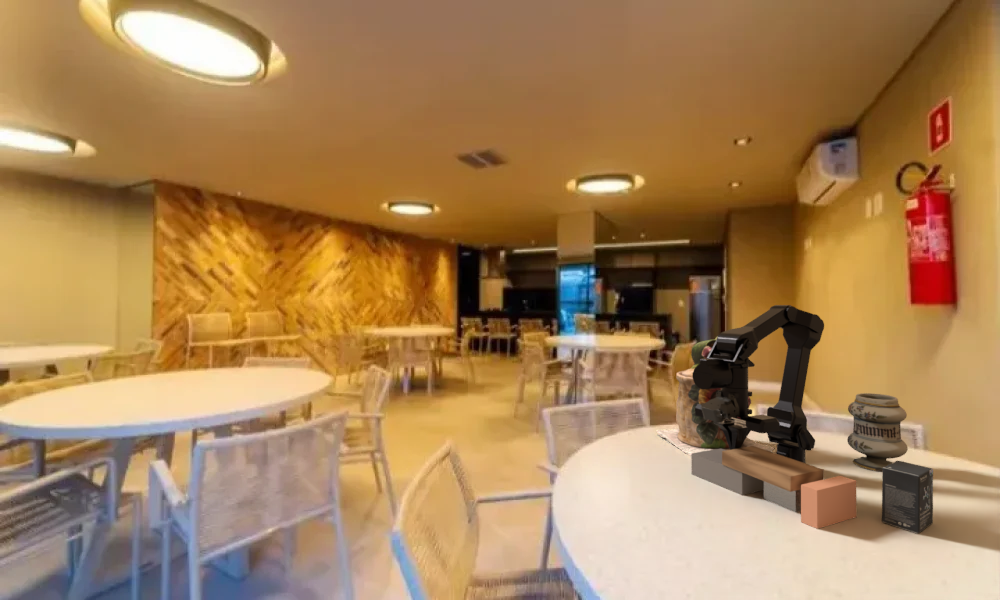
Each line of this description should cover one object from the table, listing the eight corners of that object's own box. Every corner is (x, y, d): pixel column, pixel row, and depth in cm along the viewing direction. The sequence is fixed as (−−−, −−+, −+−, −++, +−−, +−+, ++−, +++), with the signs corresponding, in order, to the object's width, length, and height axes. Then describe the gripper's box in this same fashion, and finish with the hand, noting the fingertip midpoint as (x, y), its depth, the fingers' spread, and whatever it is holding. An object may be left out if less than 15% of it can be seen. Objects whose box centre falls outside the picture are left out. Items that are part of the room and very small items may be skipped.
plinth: (721, 468, 119) (721, 448, 119) (773, 487, 107) (773, 465, 107) (691, 474, 115) (691, 453, 115) (742, 495, 102) (742, 471, 103)
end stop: (840, 510, 95) (839, 475, 95) (856, 516, 92) (856, 480, 92) (801, 521, 90) (800, 484, 90) (817, 528, 87) (817, 490, 87)
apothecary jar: (855, 470, 118) (855, 398, 118) (841, 456, 129) (841, 390, 129) (916, 477, 114) (916, 402, 114) (896, 462, 125) (896, 393, 125)
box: (919, 535, 85) (919, 475, 85) (881, 522, 90) (880, 466, 90) (934, 524, 89) (933, 467, 89) (896, 513, 94) (896, 459, 94)
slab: (753, 458, 111) (753, 445, 111) (823, 484, 96) (823, 469, 96) (722, 464, 107) (722, 451, 107) (790, 491, 92) (790, 476, 92)
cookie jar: (653, 434, 151) (653, 334, 152) (726, 432, 154) (725, 333, 154) (692, 459, 127) (692, 339, 127) (778, 456, 129) (778, 339, 130)
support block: (779, 496, 103) (779, 473, 103) (812, 508, 96) (812, 484, 96) (763, 499, 101) (763, 476, 101) (795, 512, 94) (795, 488, 94)
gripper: (677, 382, 115) (677, 446, 115) (745, 396, 98) (745, 471, 98) (711, 379, 120) (711, 441, 120) (781, 392, 103) (781, 464, 103)
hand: (734, 453), depth 110 cm, fingers closed
